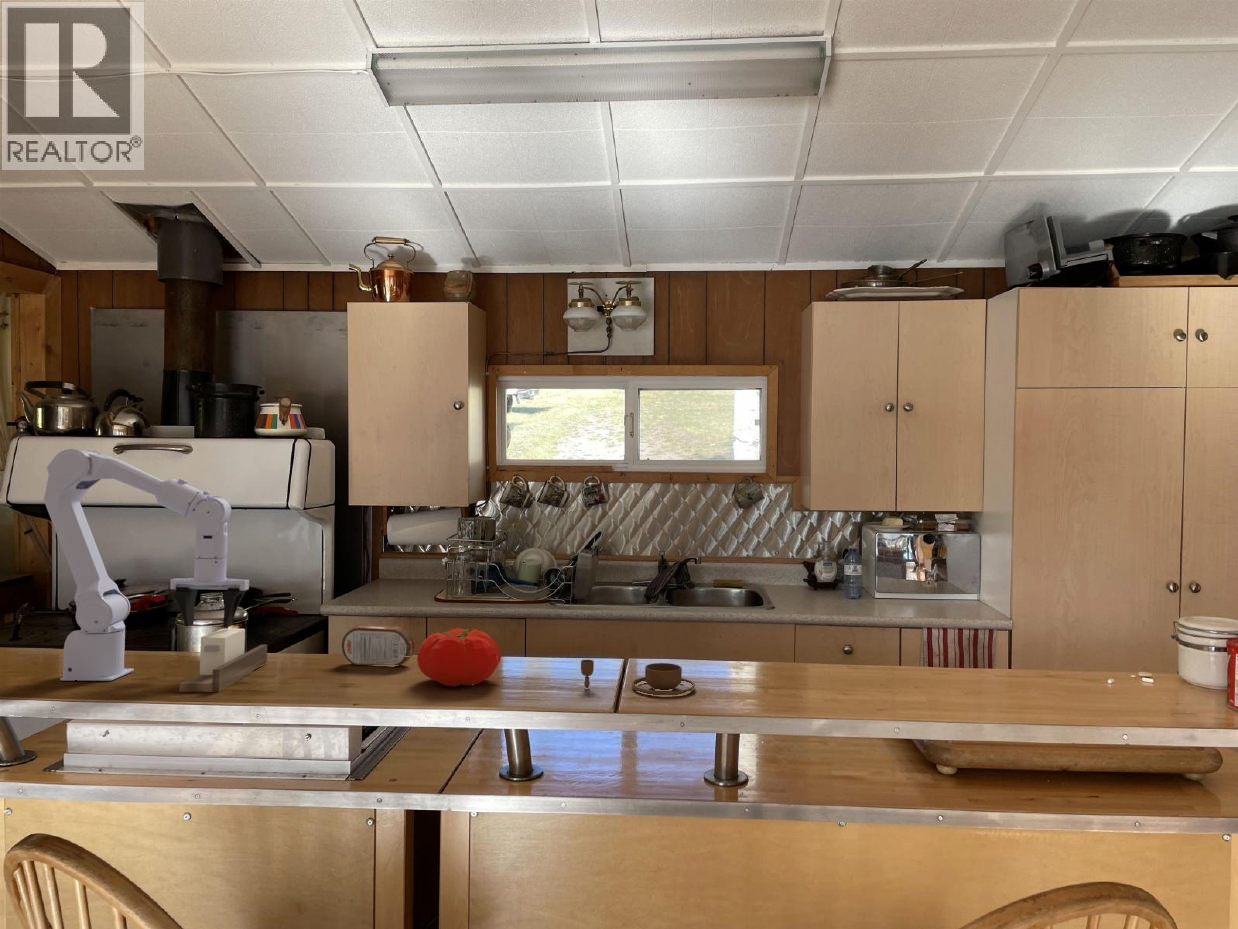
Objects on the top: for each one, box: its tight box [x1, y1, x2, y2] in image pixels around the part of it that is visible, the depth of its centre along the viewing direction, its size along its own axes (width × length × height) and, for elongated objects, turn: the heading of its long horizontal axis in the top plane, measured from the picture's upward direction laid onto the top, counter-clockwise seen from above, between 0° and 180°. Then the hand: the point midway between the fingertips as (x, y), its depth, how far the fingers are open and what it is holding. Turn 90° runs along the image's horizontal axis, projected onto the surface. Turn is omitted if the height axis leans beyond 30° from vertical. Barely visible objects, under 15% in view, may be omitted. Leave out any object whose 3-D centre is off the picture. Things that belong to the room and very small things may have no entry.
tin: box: [341, 623, 415, 666], centre depth 166 cm, size 15×3×8 cm, turn 84°
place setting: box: [580, 659, 696, 695], centre depth 152 cm, size 18×20×6 cm
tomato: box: [416, 627, 502, 687], centre depth 153 cm, size 14×16×10 cm
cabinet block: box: [199, 628, 246, 675], centre depth 155 cm, size 4×10×7 cm, turn 3°
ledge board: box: [178, 644, 268, 693], centre depth 155 cm, size 7×22×4 cm, turn 3°
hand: (208, 626), depth 158 cm, fingers open, 7 cm apart
